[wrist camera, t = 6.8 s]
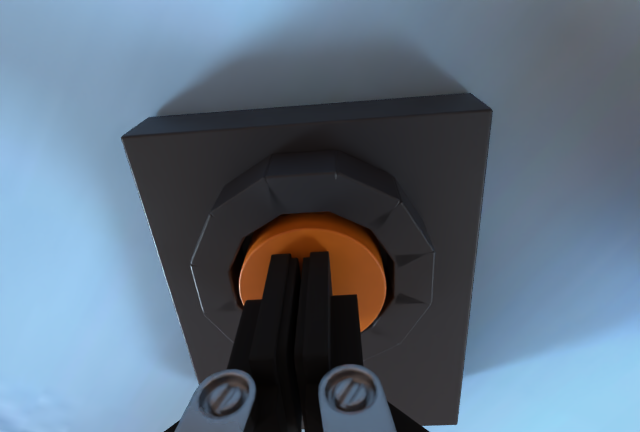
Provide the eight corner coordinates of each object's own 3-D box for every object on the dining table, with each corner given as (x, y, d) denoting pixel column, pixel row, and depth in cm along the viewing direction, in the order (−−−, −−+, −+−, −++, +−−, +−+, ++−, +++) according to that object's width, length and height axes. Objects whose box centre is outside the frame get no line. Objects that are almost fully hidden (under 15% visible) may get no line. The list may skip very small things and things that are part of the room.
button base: (147, 116, 15) (89, 158, 11) (471, 92, 14) (518, 127, 10) (224, 391, 21) (202, 472, 18) (446, 384, 21) (469, 466, 17)
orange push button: (239, 201, 13) (225, 233, 12) (379, 192, 13) (386, 224, 11) (259, 309, 15) (250, 349, 14) (380, 303, 15) (387, 343, 13)
